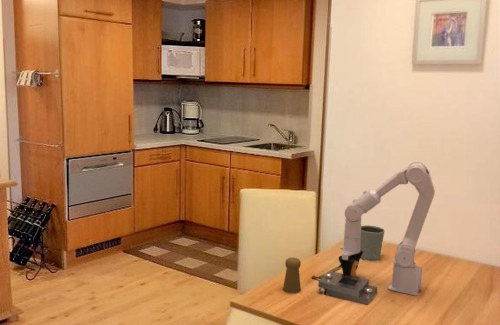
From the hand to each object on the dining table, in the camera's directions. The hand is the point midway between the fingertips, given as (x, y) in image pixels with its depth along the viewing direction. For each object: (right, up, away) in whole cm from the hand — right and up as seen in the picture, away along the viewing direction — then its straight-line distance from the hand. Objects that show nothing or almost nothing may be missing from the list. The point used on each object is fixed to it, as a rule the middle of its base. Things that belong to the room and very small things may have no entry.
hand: (350, 273), depth 181 cm
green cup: (+13, +1, +25) cm, 28 cm away
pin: (0, -3, 0) cm, 3 cm away
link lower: (-2, -4, -11) cm, 12 cm away
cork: (-22, -4, -9) cm, 24 cm away
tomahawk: (-5, -2, +7) cm, 9 cm away
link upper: (-4, -4, -10) cm, 11 cm away
